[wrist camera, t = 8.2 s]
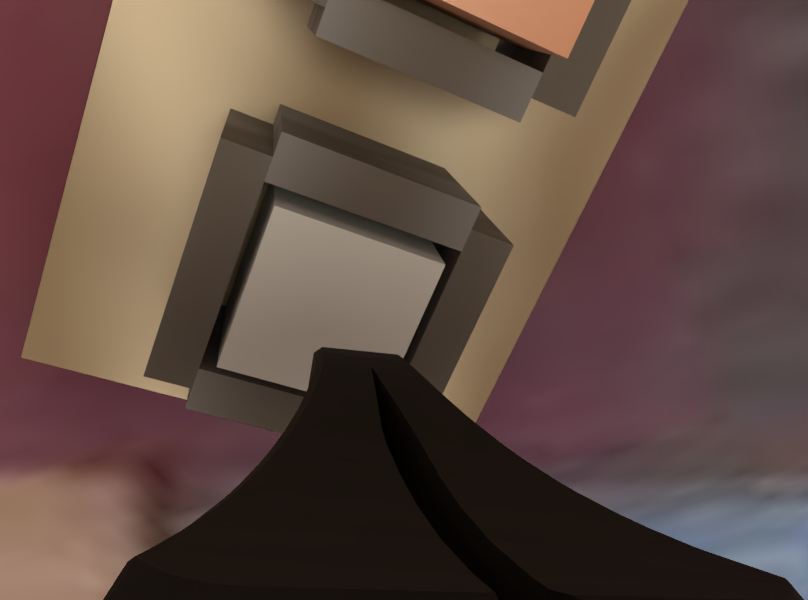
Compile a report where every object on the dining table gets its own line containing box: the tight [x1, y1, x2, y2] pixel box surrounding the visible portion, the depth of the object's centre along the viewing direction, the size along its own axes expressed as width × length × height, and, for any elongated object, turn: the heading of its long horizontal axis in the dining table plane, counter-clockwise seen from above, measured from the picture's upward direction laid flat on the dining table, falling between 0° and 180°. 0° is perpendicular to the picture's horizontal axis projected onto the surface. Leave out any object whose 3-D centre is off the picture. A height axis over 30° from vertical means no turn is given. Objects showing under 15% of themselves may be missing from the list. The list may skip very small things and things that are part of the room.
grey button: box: [217, 183, 445, 391], centre depth 16 cm, size 4×4×3 cm
